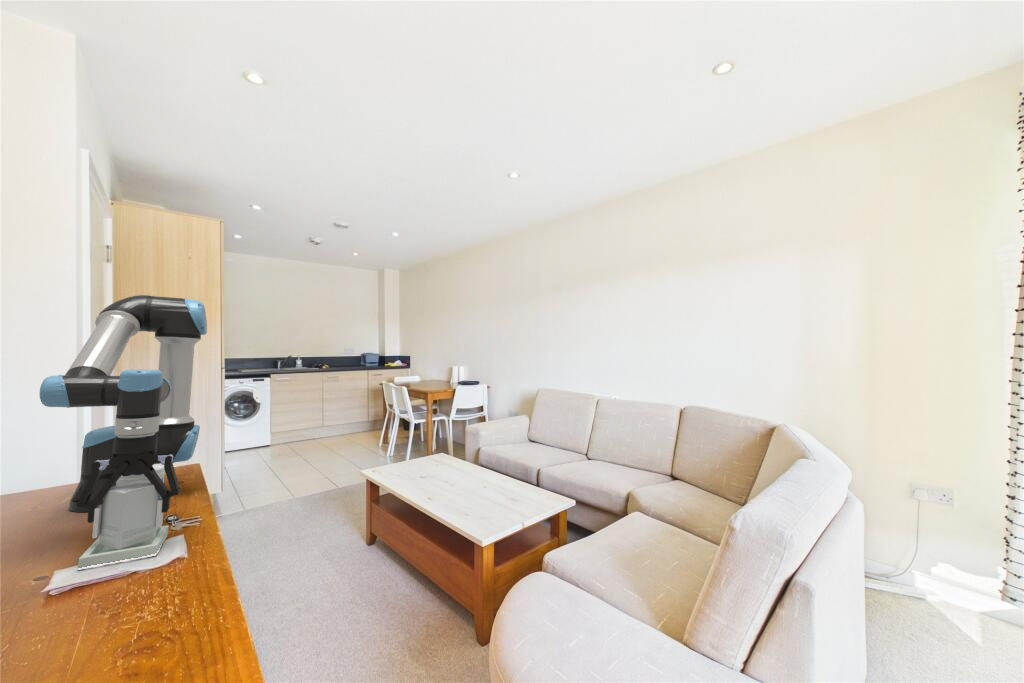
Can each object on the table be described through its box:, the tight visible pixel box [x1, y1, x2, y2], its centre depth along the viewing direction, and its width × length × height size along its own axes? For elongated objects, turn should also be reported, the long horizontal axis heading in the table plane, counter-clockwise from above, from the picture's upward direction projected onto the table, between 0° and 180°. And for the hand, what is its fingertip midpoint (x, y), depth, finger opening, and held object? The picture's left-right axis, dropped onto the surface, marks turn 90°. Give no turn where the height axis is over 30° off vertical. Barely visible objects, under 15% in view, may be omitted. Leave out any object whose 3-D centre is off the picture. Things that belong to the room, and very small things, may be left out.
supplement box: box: [99, 480, 159, 550], centre depth 90 cm, size 7×7×13 cm
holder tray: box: [77, 524, 170, 569], centre depth 90 cm, size 12×12×2 cm
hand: (128, 530), depth 90 cm, fingers closed on supplement box, 10 cm apart
